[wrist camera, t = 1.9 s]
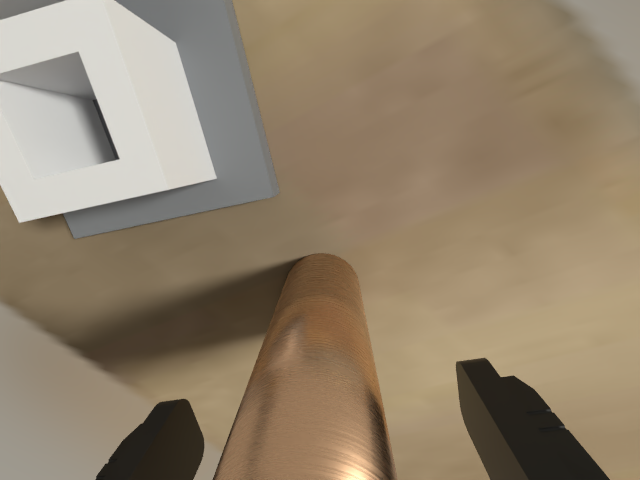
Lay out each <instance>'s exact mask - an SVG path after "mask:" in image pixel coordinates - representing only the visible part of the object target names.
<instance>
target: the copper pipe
mask: <svg viewBox="0 0 640 480" xmlns="http://www.w3.org/2000/svg"><path fill="white" fill-rule="evenodd" d="M213 480H397V474H396V469H395V464H394V459H393V454H392V449H391V444H390V439H389V434H388V429H387V423H386V418H385V413H384V408H383V403H382V398H381V393H380V388H379V383H378V378H377V372H376V367H375V362H374V357H373V352H372V347H371V342H370V337H369V332H368V327H367V321H366V316H365V311H364V306H363V301H362V296H361V291H360V286H359V281H358V277H357V275H356V273H355V271H354V270H353V268H352V267H351V266H350V265H349V264H348V263H347V262H346V261H344V260H343V259H341V258H339V257H337V256H335V255H331V254H324V253H319V254H313V255H309V256H307V257H304V258H303V259H301V260H299V261H298V262H297V263H296V264H295V265H294V266H293V267H292V268H291V270H290V272H289V274H288V276H287V279H286V281H285V284H284V287H283V290H282V292H281V295H280V298H279V301H278V303H277V306H276V309H275V311H274V314H273V317H272V320H271V322H270V325H269V328H268V330H267V333H266V336H265V339H264V341H263V344H262V347H261V349H260V352H259V355H258V358H257V360H256V363H255V366H254V369H253V371H252V374H251V377H250V379H249V382H248V385H247V388H246V390H245V393H244V396H243V398H242V401H241V404H240V407H239V409H238V412H237V415H236V418H235V420H234V423H233V426H232V428H231V431H230V434H229V437H228V439H227V442H226V445H225V447H224V450H223V453H222V456H221V458H220V461H219V464H218V467H217V469H216V472H215V475H214V478H213Z"/></svg>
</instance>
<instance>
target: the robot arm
mask: <svg viewBox="0 0 640 480" xmlns="http://www.w3.org/2000/svg"><path fill="white" fill-rule="evenodd" d="M456 373H457V382H458V391H459V400H460V408H461V413H462V416H463V420H464V423H465V425H466V428H467V431H468V433H469V435H470V437H471V439H472V441H473V443H474V446H475V448H476V450H477V452H478V454H479V456H480V458H481V460H482V463H483V465H484V467H485V469H486V471H487V473H488V475H489V477H490V479H491V480H610V479H609V478H608V477H607V476H606V474H605V473H604V472H603V471H602V470H601V468H600V467H599V466H598V465H597V464H596V462H595V461H594V460H593V459H592V458H591V456H590V455H589V454H588V453H587V452H586V450H585V449H584V448H583V447H582V446H581V444H580V443H579V442H578V441H577V440H576V439H575V437H574V436H573V435H572V434H571V433H570V431H569V430H566V428H565V426H564V424H563V423H562V422H561V421H560V419H559V418H558V417H557V416H556V415H555V413H552V411H551V409H550V407H549V406H548V405H547V404H546V403H545V401H544V400H543V399H542V398H541V397H540V396H539V394H538V393H537V392H536V391H535V390H534V389H533V388H531V387H530V386H528V385H527V384H525V383H524V382H522V381H521V380H519V379H518V378H516V377H515V376H508V377H500V376H499V374H498V373H497V372H496V370H495V369H494V368H493V366H492V365H491V363H490V362H489V361H488V360H487V359H486V358H480V359H473V360H466V361H459V362H456ZM203 452H204V438H203V435H202V432H201V430H200V427H199V425H198V422H197V420H196V417H195V415H194V412H193V410H192V408H191V405H190V403H189V401H188V400H186V399H179V400H172V401H165V402H160V403H158V404H157V405H156V406H155V407H154V409H153V410H152V411H151V413H150V414H149V416H148V417H147V418H146V420H145V421H144V423H143V424H140V425H139V426H138V427H137V428H136V429H135V430H134V431H133V432H132V433H131V434H129V435H128V436H127V437H126V438H125V439H124V440H123V441H122V442H121V444H120V445H119V447H118V448H117V449H116V451H115V452H114V454H113V455H112V456H111V457H110V459H109V462H108V464H105V465H104V467H103V468H102V469H101V471H100V472H99V473H98V475H97V476H96V480H193V479H194V477H195V474H196V472H197V470H198V467H199V465H200V463H201V460H202V457H203Z"/></svg>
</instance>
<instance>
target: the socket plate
mask: <svg viewBox="0 0 640 480" xmlns="http://www.w3.org/2000/svg"><path fill="white" fill-rule="evenodd" d="M0 185H1V187H2V189H3V191H4V193H5V195H6V197H7V199H8V201H9V203H10V205H11V207H12V209H13V211H14V213H15V215H16V217H17V219H18V221H19V223H20V222H25V221H29V220H34V219H38V218H43V217H47V216H52V215H57V214H61V213H63V215H64V217H65V219H66V222H67V224H68V226H69V228H70V230H71V233H72V235H73V237H74V239H76V238H81V237H85V236H90V235H95V234H100V233H104V232H109V231H114V230H119V229H123V228H128V227H133V226H138V225H142V224H147V223H152V222H157V221H161V220H166V219H171V218H176V217H180V216H185V215H190V214H195V213H199V212H204V211H209V210H214V209H218V208H223V207H228V206H233V205H237V204H242V203H247V202H252V201H257V200H261V199H266V198H271V197H274V196H276V195H277V194H278V193H280V192H279V188H278V184H277V180H276V176H275V172H274V168H273V163H272V159H271V155H270V151H269V147H268V143H267V139H266V135H265V131H264V127H263V123H262V119H261V115H260V111H259V107H258V103H257V99H256V95H255V91H254V87H253V83H252V79H251V75H250V71H249V67H248V63H247V59H246V55H245V51H244V47H243V43H242V39H241V35H240V31H239V27H238V23H237V19H236V15H235V11H234V7H233V3H232V0H0Z"/></svg>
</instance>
